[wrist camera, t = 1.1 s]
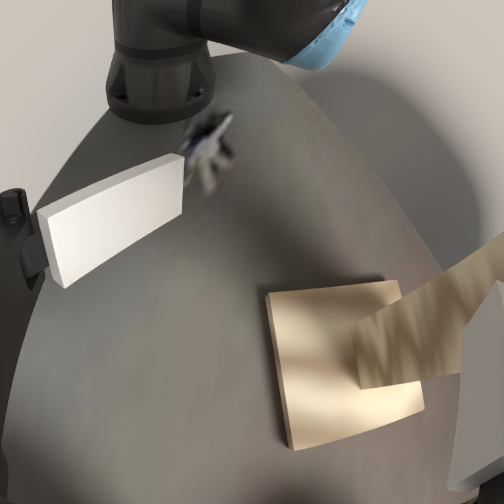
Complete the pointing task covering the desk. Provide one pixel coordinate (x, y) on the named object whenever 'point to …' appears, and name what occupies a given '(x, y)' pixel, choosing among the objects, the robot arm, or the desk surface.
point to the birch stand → (371, 347)
